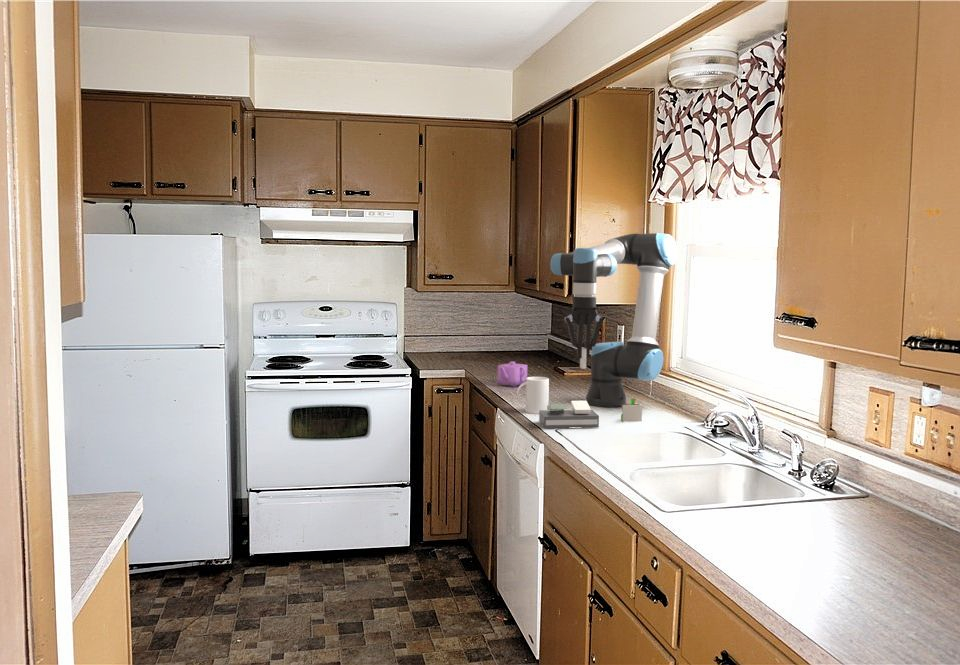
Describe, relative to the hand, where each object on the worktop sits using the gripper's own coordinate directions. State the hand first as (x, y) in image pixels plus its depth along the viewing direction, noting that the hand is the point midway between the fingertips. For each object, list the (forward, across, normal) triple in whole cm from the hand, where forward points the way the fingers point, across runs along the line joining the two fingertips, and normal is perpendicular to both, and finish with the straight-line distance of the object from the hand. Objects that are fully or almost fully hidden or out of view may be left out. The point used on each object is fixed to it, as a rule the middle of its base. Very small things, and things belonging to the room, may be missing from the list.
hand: (583, 368), depth 264 cm
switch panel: (+19, +4, -3) cm, 20 cm away
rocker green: (+14, +8, -3) cm, 17 cm away
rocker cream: (+14, 0, -3) cm, 14 cm away
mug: (+20, +12, -25) cm, 34 cm away
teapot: (+20, +14, -79) cm, 82 cm away
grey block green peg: (+20, -19, -8) cm, 29 cm away
